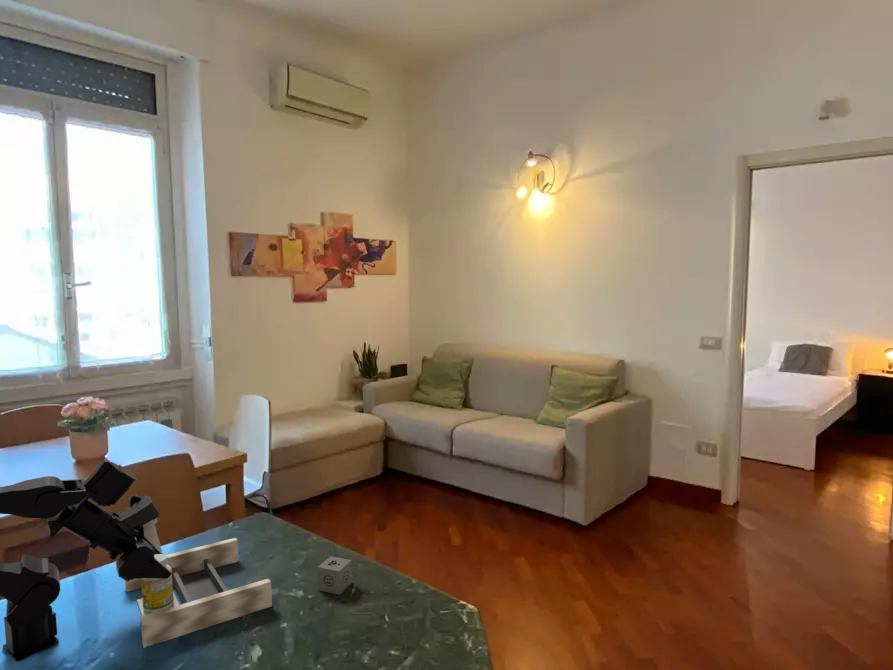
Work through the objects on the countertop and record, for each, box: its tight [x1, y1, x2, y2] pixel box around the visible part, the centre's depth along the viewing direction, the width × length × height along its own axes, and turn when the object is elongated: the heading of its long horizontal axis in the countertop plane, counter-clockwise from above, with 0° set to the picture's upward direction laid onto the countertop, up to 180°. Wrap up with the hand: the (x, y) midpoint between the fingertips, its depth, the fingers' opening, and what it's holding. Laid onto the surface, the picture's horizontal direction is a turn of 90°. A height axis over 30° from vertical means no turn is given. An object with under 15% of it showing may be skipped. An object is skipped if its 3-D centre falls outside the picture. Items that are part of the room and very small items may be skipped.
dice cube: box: [317, 555, 353, 595], centre depth 124 cm, size 5×5×5 cm
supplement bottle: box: [141, 553, 174, 613], centre depth 116 cm, size 5×5×10 cm
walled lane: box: [124, 537, 273, 649], centre depth 120 cm, size 22×24×5 cm
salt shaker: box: [143, 517, 164, 554], centre depth 130 cm, size 6×6×13 cm
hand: (165, 566), depth 116 cm, fingers open, 9 cm apart
